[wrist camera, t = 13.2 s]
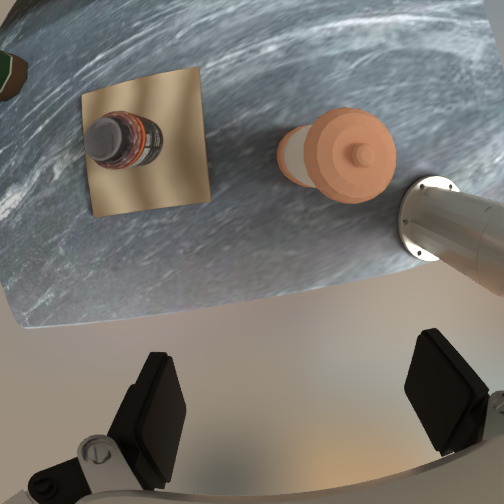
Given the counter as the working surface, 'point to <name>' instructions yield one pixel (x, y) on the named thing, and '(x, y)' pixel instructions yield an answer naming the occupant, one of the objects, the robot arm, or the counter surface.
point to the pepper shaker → (340, 155)
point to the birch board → (173, 151)
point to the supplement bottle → (123, 140)
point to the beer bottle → (11, 75)
